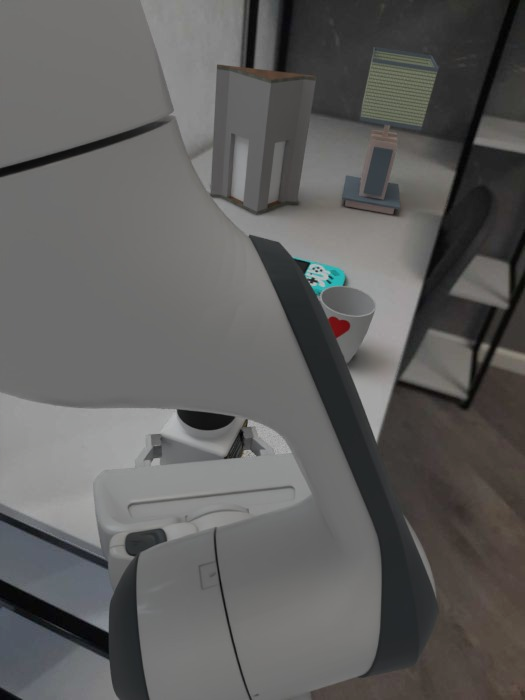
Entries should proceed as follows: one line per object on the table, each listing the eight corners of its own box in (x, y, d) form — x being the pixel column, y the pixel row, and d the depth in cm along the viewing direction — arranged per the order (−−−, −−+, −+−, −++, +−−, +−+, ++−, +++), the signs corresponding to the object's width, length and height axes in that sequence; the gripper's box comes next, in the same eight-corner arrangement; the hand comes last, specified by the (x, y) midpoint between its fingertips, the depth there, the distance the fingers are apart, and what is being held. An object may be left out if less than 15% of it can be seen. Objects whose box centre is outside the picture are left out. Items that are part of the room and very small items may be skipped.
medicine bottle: (220, 501, 54) (229, 419, 47) (158, 479, 55) (157, 396, 48) (244, 453, 60) (255, 373, 52) (187, 434, 61) (190, 353, 54)
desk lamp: (397, 218, 126) (440, 68, 106) (340, 208, 127) (371, 58, 108) (395, 192, 141) (433, 56, 121) (344, 183, 142) (372, 46, 122)
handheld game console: (337, 300, 93) (339, 293, 92) (253, 279, 96) (253, 272, 95) (346, 275, 101) (348, 269, 100) (268, 256, 104) (269, 250, 103)
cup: (297, 348, 80) (308, 293, 74) (335, 333, 85) (348, 280, 79) (333, 378, 76) (348, 322, 70) (371, 361, 80) (388, 307, 74)
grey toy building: (296, 202, 128) (315, 75, 111) (299, 218, 120) (320, 85, 103) (210, 194, 126) (217, 64, 109) (208, 210, 118) (215, 73, 101)
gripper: (350, 522, 42) (304, 405, 53) (87, 557, 38) (93, 419, 48) (335, 564, 46) (294, 446, 57) (94, 600, 41) (98, 464, 52)
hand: (200, 434), depth 52 cm, fingers closed on medicine bottle, 8 cm apart
